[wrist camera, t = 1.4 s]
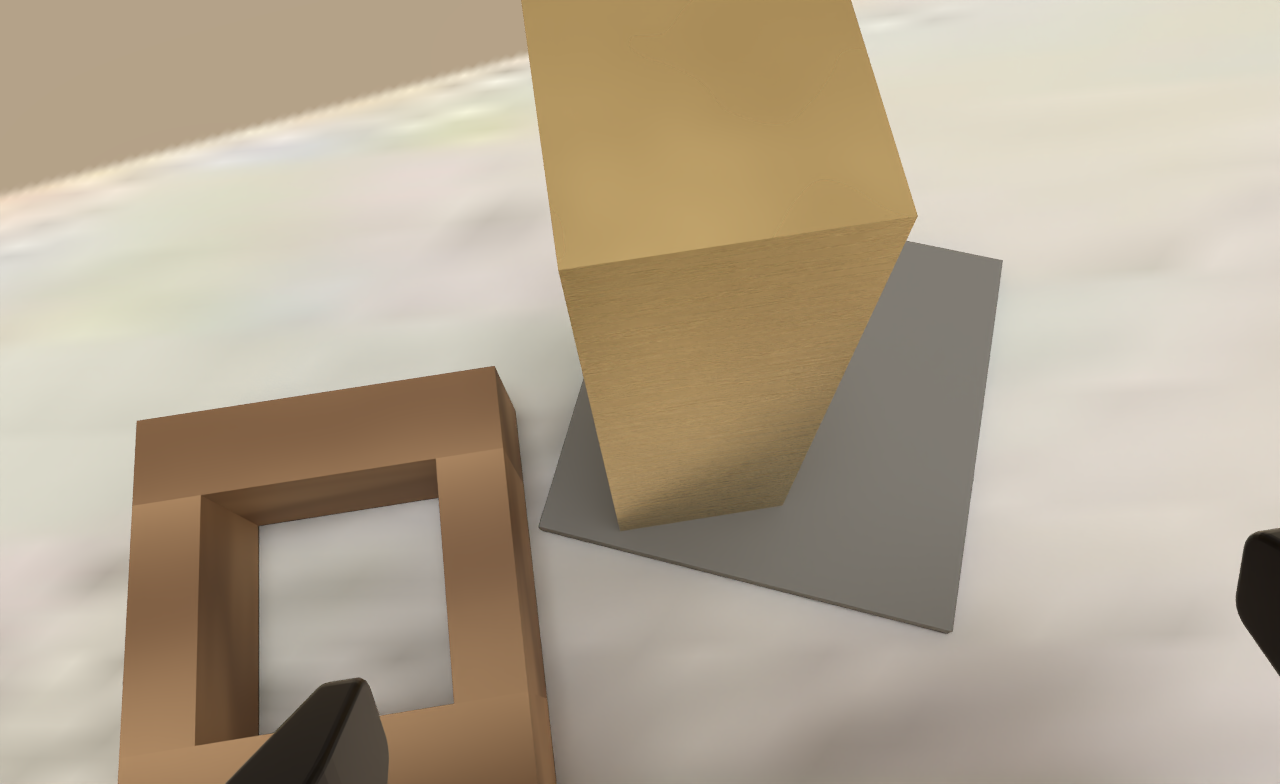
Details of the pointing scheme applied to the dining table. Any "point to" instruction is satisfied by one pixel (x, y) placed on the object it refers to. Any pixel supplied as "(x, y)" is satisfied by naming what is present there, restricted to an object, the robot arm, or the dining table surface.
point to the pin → (713, 232)
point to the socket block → (316, 486)
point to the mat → (846, 463)
